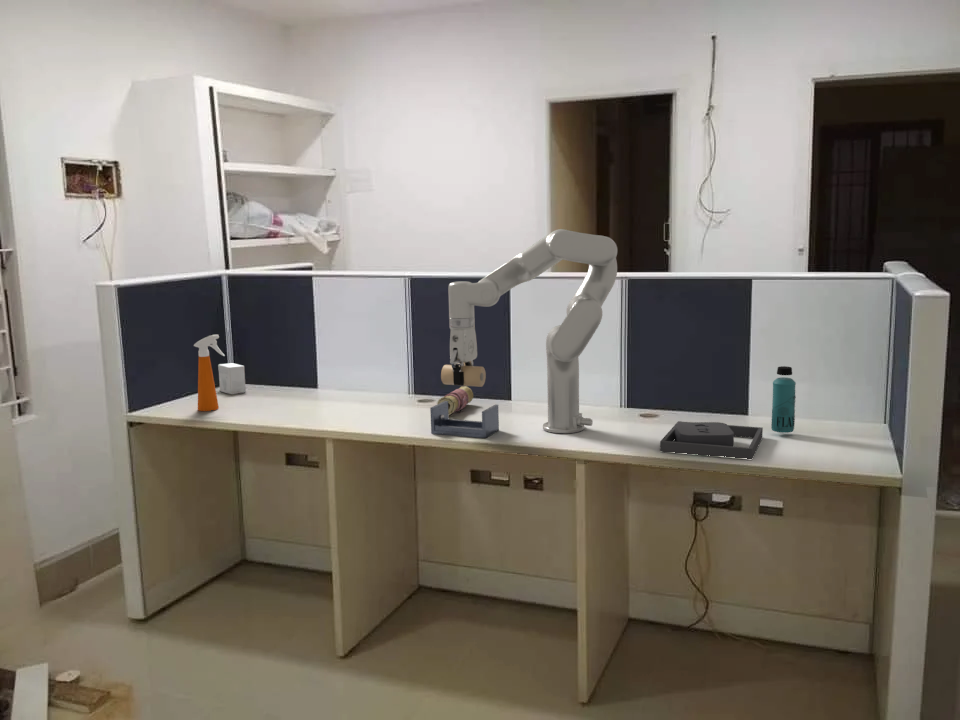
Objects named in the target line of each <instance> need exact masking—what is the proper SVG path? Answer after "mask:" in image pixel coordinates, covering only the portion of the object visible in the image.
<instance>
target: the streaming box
mask: <svg viewBox="0 0 960 720" xmlns="http://www.w3.org/2000/svg"><path fill="white" fill-rule="evenodd" d="M681 422H682V423H677V422H676V423H675V424H674V425H675V440H674V442H685V443H697V444H709V445H721V446H733V447H735V446H734V442H735V441H734V440H735V436H734V432H733V431H732V430H731V429H730V428H729V426H728V425H729V424H727V423H724V422H719V421H711V422H710V421H707V422H706V421H704V422H701V421H699V422H697V421H695V422H693V421H681Z"/></svg>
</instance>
